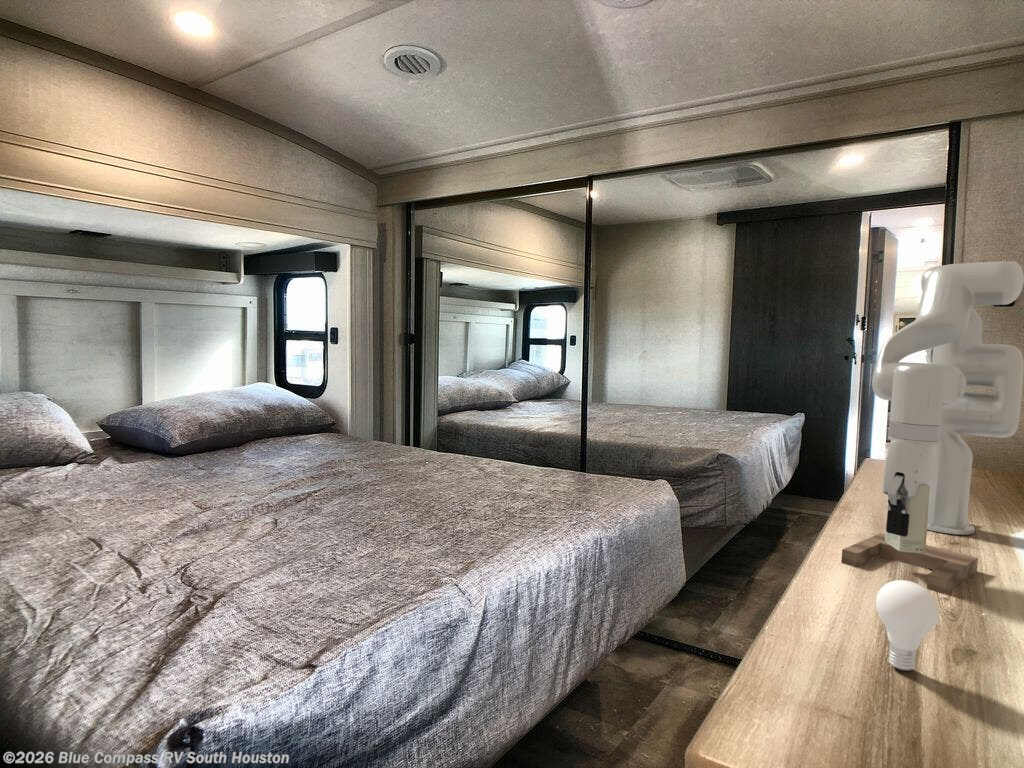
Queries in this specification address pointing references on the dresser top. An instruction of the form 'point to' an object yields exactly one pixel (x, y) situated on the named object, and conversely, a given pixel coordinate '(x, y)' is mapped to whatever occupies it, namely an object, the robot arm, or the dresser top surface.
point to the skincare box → (913, 524)
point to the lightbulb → (906, 619)
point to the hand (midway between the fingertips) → (905, 530)
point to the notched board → (917, 561)
